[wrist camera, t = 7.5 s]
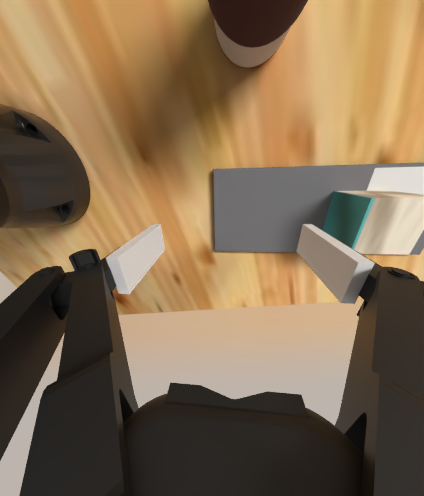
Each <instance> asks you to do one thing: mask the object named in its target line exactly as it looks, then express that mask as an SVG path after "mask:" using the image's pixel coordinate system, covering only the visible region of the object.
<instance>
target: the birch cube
mask: <svg viewBox="0 0 424 496" xmlns="http://www.w3.org/2000/svg"><path fill="white" fill-rule="evenodd" d="M423 230H424V195H421V194H413V193H404V192H396V191H387V190H367V191H334V192H333V195H332V199H331V202H330V206H329V209H328V213H327V216H326V219H325V223H324V226H323V230H322V231H324V232H325V233H327V234H329V235H330V236H332V237H333V238H335V239H337V240H338V241H340V242H341V243H343V244H345V245H346V246H348V247H349V248H351V249H353V250H355V251H357V252H359V253H360V254H398V255H409V254H410V252H411V251H412V249H413V247H414V246H415V244H416V242H417V241H418V239H419V237H420V235H421V234H422V232H423Z"/></svg>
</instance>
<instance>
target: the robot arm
mask: <svg viewBox="0 0 424 496" xmlns="http://www.w3.org/2000/svg"><path fill="white" fill-rule="evenodd" d="M89 199H90V187H89V181H88V177H87V174H86V171H85V169H84V166H83V164H82V162H81V160H80V158H79V156H78V155H77V153H76V152H75V150H74V149H73V147H72V146H71V145H70V143H69V142H68V141H67V140H66V138H65V137H64V136H63V135H62V134H61V133H60V132H59V131H58V130H56V129H55V128H54V127H53V126H52V125H50V124H49V123H48V122H46V121H45V120H43V119H41V118H40V117H38V116H36V115H34V114H31V113H29V112H26V111H22V110H19V109H16V108H12V107H9V106H5V105H0V229H1V228H51V227H58V226H62V225H65V224H68V223H71V222H74V221H76V220H78V219H79V218H80V217H81V216H82V215H83V214H84V213H85V211H86V209H87V207H88V204H89ZM164 250H165V247H164V241H163V235H162V230H161V224H152V225H151V226H150V227H148V228H147V229H145V230H144V231H143V232H141V233H140V234H138V235H137V236H136V237H134V238H133V239H131V240H130V241H128V242H127V243H126V244H124V245H123V246H121V247H120V248H118V249H116V250H115V251H114V252H112V253H111V254H110V255H108V256H106V257H105V258H103V259H102V260H101V261H100V258H99V255H98V253H97V251H96V250H95V249H87V250H82V251H78V252H76V253H73V254H72V255H70V256H69V259H70V261H71V263H72V265H73V267H74V269H75V271H73V272H67V273H65V272H64V271H63V269H62V267H61V266H53V267H46V268H43V269H41V270H40V271H38V272H36V273H34V274H33V275H31V276H30V277H29V278H28V279H27V280H26V281H25V282H24V283H23V284H22V285H20V286H19V287H18V288H17V289H16V290H15V291H14V292H13V293H12V294H11V295H10V296H8V297H7V298H6V299H5V300H4V301H3V302H2V303H1V304H0V460H1V458H2V456H3V454H4V452H5V450H6V448H7V446H8V444H9V442H10V440H11V438H12V436H13V434H14V432H15V430H16V428H17V426H18V424H19V422H20V420H21V418H22V416H23V414H24V412H25V410H26V408H27V406H28V404H29V402H30V400H31V398H32V396H33V394H34V392H35V390H36V388H37V386H38V384H39V382H40V380H41V378H42V376H43V374H44V372H45V370H46V368H47V366H48V364H49V362H50V360H51V358H52V356H53V354H54V352H55V350H56V348H57V346H58V344H59V342H60V340H61V338H62V336H63V334H64V332H65V335H64V341H63V347H62V353H61V360H60V366H59V372H58V378H57V381H56V382H54V383H52V384H50V385H48V386H47V387H46V389H45V390H44V391H43V394H42V397H41V400H40V404H39V409H38V414H37V418H36V423H35V427H34V432H33V437H32V441H31V446H30V450H29V455H28V460H27V464H26V468H25V474H24V478H23V482H22V487H21V491H20V496H424V281H420V280H419V278H418V277H417V276H415V275H414V274H412V273H410V272H407V271H405V270H402V269H398V268H393V267H382V266H380V265H378V264H377V263H375V262H373V261H372V260H370V259H368V258H367V257H365V256H363V255H362V254H360V253H359V252H357V251H355V250H353V249H351V248H349V247H348V246H346V245H345V244H343V243H341V242H340V241H338V240H337V239H335V238H333V237H332V236H330V235H329V234H327V233H325V232H324V231H322V230H320V229H319V228H317V227H316V226H314V225H312V224H303V225H302V230H301V234H300V238H299V243H298V247H297V251H296V252H297V253H298V254H299V255H300V256H301V258H302V259H303V260H304V261H305V262H306V263H307V264H308V266H309V267H310V268H311V269H312V270H313V271H314V273H315V274H316V275H317V276H318V277H319V278H320V279H321V281H322V282H323V283H324V284H325V285H326V286H327V288H328V289H329V290H330V291H331V292H332V293H333V295H334V296H335V297H336V298H337V299H338V300H339V301H340V303H353V304H354V303H355V302H356V300H357V298H358V296H361V297H362V298H363V299H364V302H363V304H362V306H361V308H360V310H359V311H358V313H357V316H359V321H358V325H357V330H356V336H355V341H354V345H353V350H352V355H351V360H350V364H349V370H348V374H347V379H346V384H345V389H344V394H343V399H342V404H341V408H340V413H339V416H338V419H337V422H336V424H335V426H334V425H333V424H332V423H330V422H329V421H327V420H326V419H325V418H323V417H322V416H320V415H319V414H317V413H315V412H313V411H311V410H310V409H307V408H305V405H304V402H303V399H302V396H301V395H298V394H287V393H276V392H264V393H260V394H256V395H252V396H248V397H244V398H240V399H230V398H228V397H226V396H223V395H221V394H219V393H217V392H214V391H212V390H210V389H208V388H205V387H203V386H200V385H190V384H179V383H170V386H169V390H168V394H164V395H161V396H159V397H156V398H154V399H153V400H151V401H149V402H147V403H146V404H145V405H143V406H142V407H140V408H138V405H137V402H136V399H135V395H134V391H133V386H132V381H131V376H130V371H129V367H128V362H127V357H126V352H125V347H124V342H123V337H122V332H121V327H120V323H119V318H118V313H117V308H116V303H115V298H114V294H113V291H112V290H113V289H114V288H115V287H116V288H117V290H118V293H119V294H130V293H131V292H132V291H133V289H134V288H135V287H136V286H137V284H138V283H139V282H140V281H141V279H142V278H143V277H144V276H145V274H146V273H147V272H148V270H149V269H150V268H151V267H152V265H153V264H154V263H155V262H156V260H157V259H158V258H159V257H160V255H161V254H162V253H163V252H164Z"/></svg>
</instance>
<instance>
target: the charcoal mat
mask: <svg viewBox="0 0 424 496" xmlns="http://www.w3.org/2000/svg"><path fill="white" fill-rule="evenodd" d="M213 171H214V222H215V251H228V252H291V253H297V252H296V251H297V247H298V243H299V238H300V234H301V230H302V225H303V224H312V225H314V226H316V227H317V228H319V229H320V230H323V226H324V223H325V219H326V216H327V213H328V209H329V206H330V202H331V199H332V195H333V192H334V191H367V190H387V191H396V192H404V193H413V194H421V195H424V163H399V164H367V165H334V166H302V167H270V168H237V169H213ZM423 248H424V230H423V232H422V234H421V235H420V237H419V239H418V241H417V242H416V244H415V246H414V247H413V249H412V251H411V252H410V254H416V255H420V253H421V251H422V250H423Z"/></svg>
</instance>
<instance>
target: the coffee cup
mask: <svg viewBox="0 0 424 496" xmlns="http://www.w3.org/2000/svg"><path fill="white" fill-rule="evenodd" d="M208 1H209V5H210V8H211V11H212V14H213V17H214V23H215V29H216V34H217V38H218V41H219V44H220V46H221V48H222V50H223V52H224V53H225V55H226V56H227V57H228V59H229V60H231V61H232V62H233V63H234V64H236V65H239V66H241V67H255V66H258V65H260V64H262V63H263V62H265V61H267V60H268V59H269V58H270V57H271V56H272V55H273V54H274V53H275V52H276V51H277V49H278V48H279V47H280V45H281V43H282V42H283V40H284V38H285V36H286V34H287V33H288V31H289V29H290V27H291V25H292V24H293V23H294V22H295V20H296V19H297V18H298V16H299V15H300V13H301V12H302V10H303V8H304V6H305V5H306V3H307V1H308V0H208Z"/></svg>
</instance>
